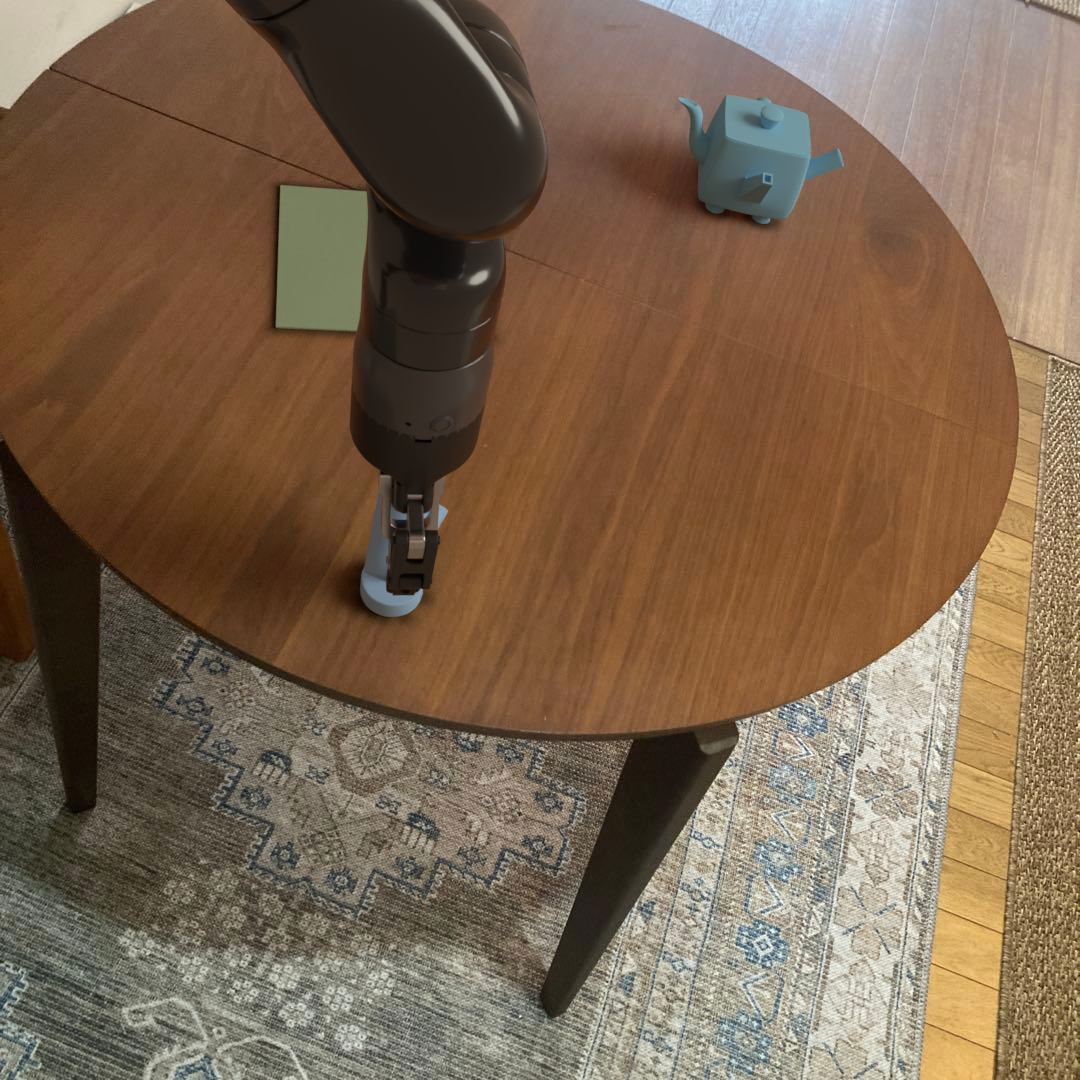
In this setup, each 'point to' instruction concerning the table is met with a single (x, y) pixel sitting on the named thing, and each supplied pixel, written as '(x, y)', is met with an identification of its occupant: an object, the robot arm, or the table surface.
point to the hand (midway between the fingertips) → (400, 540)
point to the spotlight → (385, 570)
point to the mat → (320, 258)
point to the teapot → (754, 157)
